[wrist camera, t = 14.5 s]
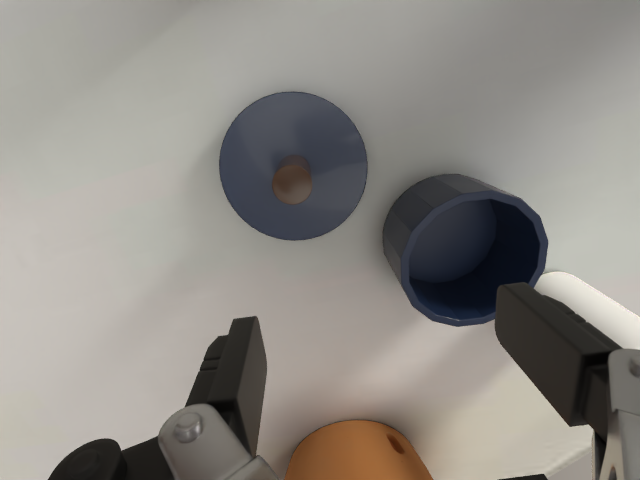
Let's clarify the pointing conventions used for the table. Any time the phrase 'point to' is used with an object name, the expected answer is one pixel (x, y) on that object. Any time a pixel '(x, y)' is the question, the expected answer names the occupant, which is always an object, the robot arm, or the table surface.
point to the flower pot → (356, 454)
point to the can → (593, 307)
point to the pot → (462, 247)
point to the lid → (293, 166)
